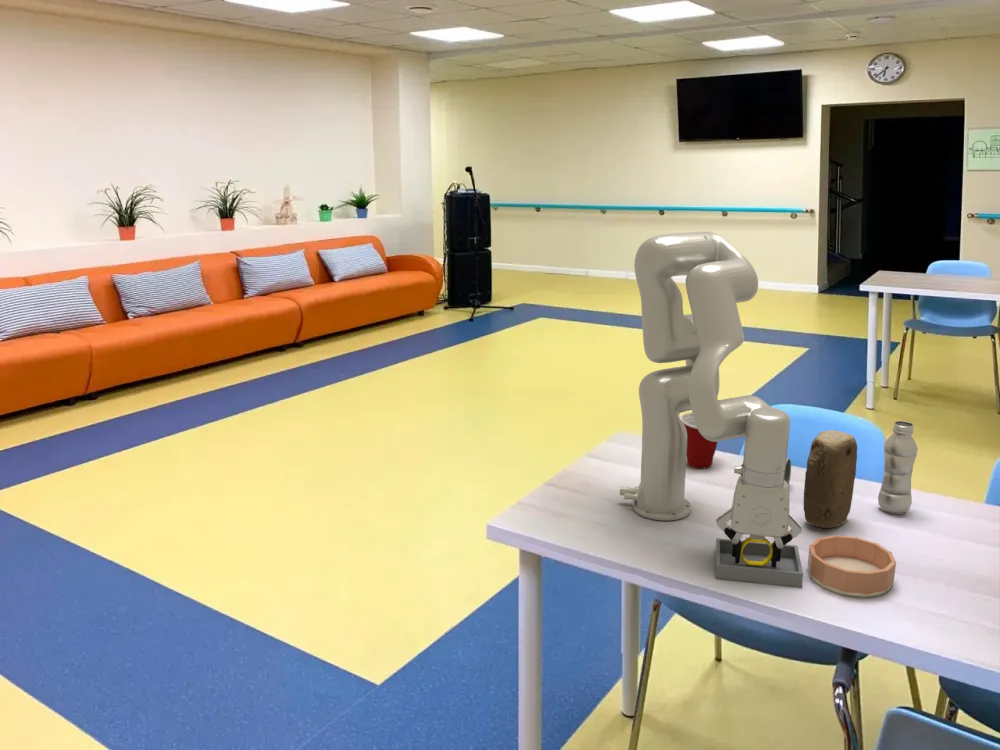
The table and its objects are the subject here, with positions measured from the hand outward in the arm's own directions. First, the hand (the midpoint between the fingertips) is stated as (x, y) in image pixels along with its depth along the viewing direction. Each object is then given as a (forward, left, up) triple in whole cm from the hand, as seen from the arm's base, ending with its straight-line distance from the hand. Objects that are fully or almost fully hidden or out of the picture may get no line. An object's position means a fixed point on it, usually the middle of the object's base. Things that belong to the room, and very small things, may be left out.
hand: (755, 561), depth 165 cm
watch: (0, 0, -1) cm, 1 cm away
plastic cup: (-11, +51, -1) cm, 52 cm away
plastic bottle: (+30, +32, -1) cm, 44 cm away
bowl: (+17, 0, -1) cm, 17 cm away
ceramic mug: (+5, +38, -1) cm, 39 cm away
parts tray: (0, 0, -1) cm, 1 cm away
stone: (+15, +23, -1) cm, 27 cm away
